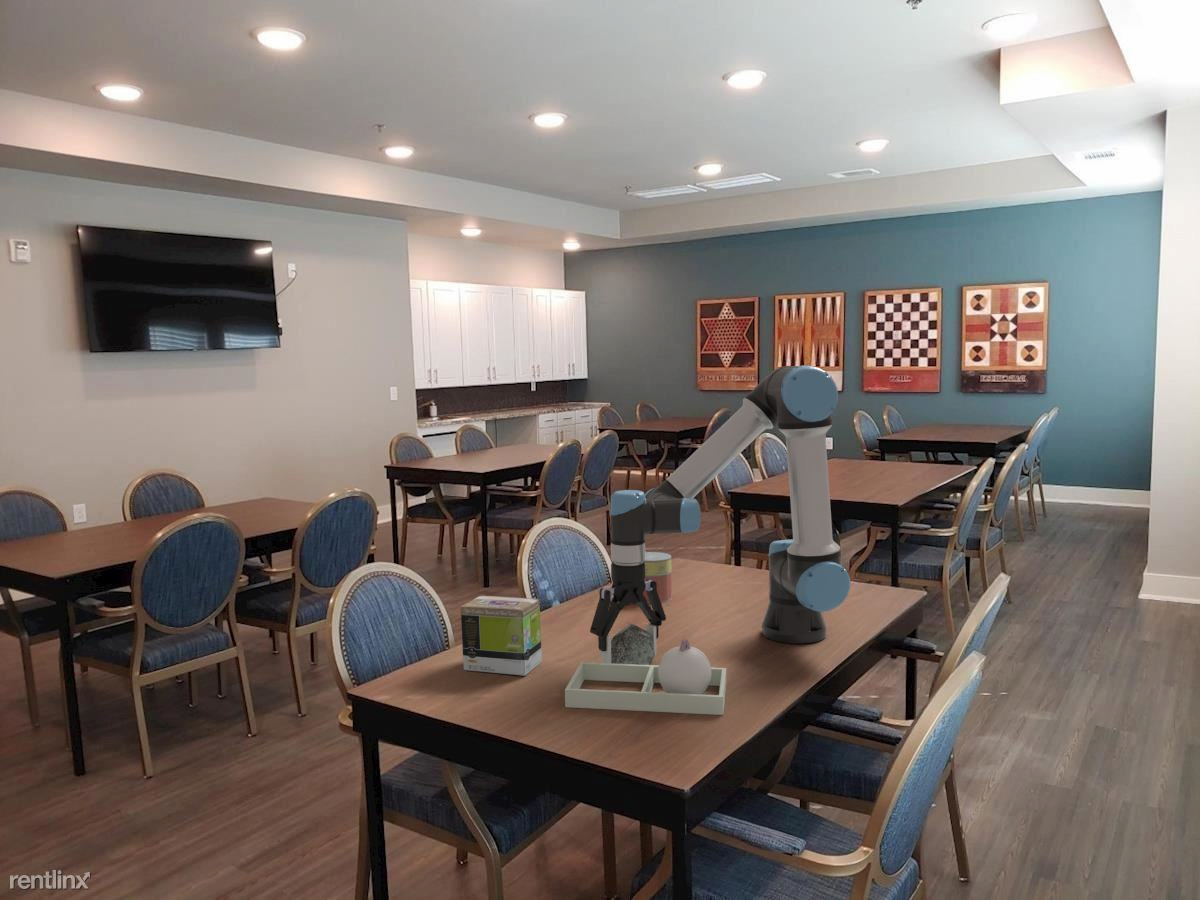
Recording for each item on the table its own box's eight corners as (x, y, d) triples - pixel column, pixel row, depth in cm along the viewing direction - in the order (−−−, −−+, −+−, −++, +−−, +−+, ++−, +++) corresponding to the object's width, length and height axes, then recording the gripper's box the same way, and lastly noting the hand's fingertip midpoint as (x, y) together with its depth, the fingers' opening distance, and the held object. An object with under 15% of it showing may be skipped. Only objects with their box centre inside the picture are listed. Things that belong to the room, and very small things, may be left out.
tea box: (543, 662, 196) (541, 597, 195) (524, 677, 187) (522, 610, 185) (482, 656, 201) (480, 593, 200) (461, 671, 192) (459, 605, 190)
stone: (631, 627, 187) (638, 612, 197) (596, 654, 189) (605, 639, 199) (660, 661, 187) (666, 645, 196) (626, 688, 189) (633, 671, 199)
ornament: (697, 711, 167) (696, 650, 166) (650, 701, 172) (648, 642, 171) (719, 693, 175) (719, 635, 174) (673, 684, 181) (673, 627, 180)
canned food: (634, 592, 253) (633, 551, 252) (673, 593, 252) (672, 551, 251) (630, 603, 242) (629, 560, 241) (670, 603, 241) (670, 560, 240)
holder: (726, 684, 180) (726, 668, 180) (723, 715, 165) (723, 697, 164) (581, 678, 186) (580, 662, 185) (565, 707, 170) (564, 689, 170)
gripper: (660, 551, 200) (661, 644, 203) (572, 566, 187) (574, 665, 189) (681, 557, 194) (682, 652, 196) (592, 573, 181) (593, 675, 183)
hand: (629, 659), depth 193 cm, fingers closed on stone, 12 cm apart
